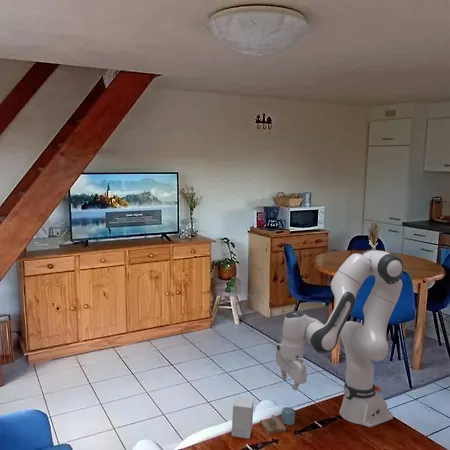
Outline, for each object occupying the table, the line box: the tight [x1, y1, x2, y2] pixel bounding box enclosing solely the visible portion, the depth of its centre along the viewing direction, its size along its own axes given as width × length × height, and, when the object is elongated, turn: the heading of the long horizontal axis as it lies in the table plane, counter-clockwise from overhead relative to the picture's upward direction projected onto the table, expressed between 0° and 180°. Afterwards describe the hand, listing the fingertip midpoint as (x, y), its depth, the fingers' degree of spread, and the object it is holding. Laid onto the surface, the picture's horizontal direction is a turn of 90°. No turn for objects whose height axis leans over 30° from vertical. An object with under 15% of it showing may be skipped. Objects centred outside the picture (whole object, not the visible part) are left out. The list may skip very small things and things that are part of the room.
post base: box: [259, 414, 288, 435], centre depth 181 cm, size 8×8×4 cm
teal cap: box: [280, 406, 296, 426], centre depth 185 cm, size 5×5×5 cm
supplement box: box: [231, 396, 255, 439], centre depth 176 cm, size 7×7×13 cm
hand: (289, 384), depth 183 cm, fingers open, 8 cm apart
